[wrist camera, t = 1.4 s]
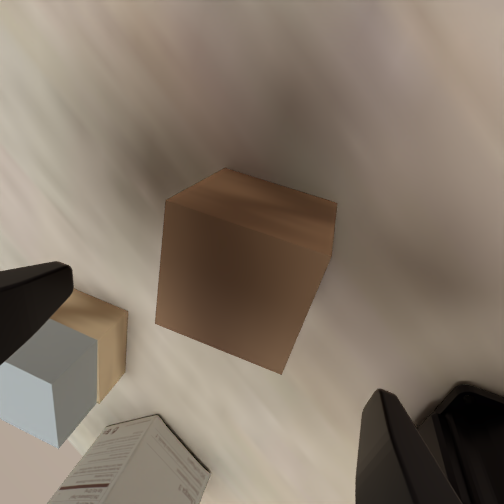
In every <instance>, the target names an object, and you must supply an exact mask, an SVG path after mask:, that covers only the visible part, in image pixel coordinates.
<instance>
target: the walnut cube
mask: <svg viewBox="0 0 504 504" xmlns="http://www.w3.org/2000/svg"><path fill="white" fill-rule="evenodd" d="M336 212H337V203H335V202H332V201H329V200H326V199H323V198H319V197H316V196H313V195H310V194H307V193H303V192H300V191H297V190H294V189H291V188H287V187H284V186H281V185H278V184H275V183H272V182H268V181H265V180H262V179H259V178H256V177H252V176H249V175H246V174H243V173H240V172H236V171H233V170H230V169H227V168H224V169H222V170H220V171H219V172H217V173H215V174H213V175H211V176H209V177H207V178H206V179H204V180H202V181H200V182H198V183H196V184H195V185H193V186H191V187H189V188H187V189H185V190H184V191H182V192H180V193H178V194H176V195H174V196H173V197H171V198H169V199H167V200H166V202H165V214H164V225H163V237H162V248H161V260H160V271H159V283H158V295H157V306H156V318H155V324H157V325H160V326H162V327H165V328H167V329H170V330H172V331H174V332H177V333H179V334H182V335H184V336H187V337H189V338H192V339H194V340H197V341H199V342H202V343H204V344H207V345H209V346H212V347H214V348H217V349H219V350H222V351H224V352H226V353H229V354H231V355H234V356H236V357H239V358H241V359H244V360H246V361H249V362H251V363H254V364H256V365H259V366H261V367H264V368H266V369H269V370H271V371H274V372H276V373H278V374H281V375H282V372H283V370H284V367H285V365H286V363H287V360H288V358H289V356H290V353H291V351H292V349H293V346H294V344H295V341H296V339H297V337H298V334H299V332H300V330H301V327H302V325H303V323H304V320H305V318H306V315H307V313H308V311H309V308H310V306H311V304H312V301H313V299H314V297H315V294H316V292H317V289H318V287H319V285H320V282H321V280H322V278H323V275H324V273H325V271H326V268H327V266H328V263H329V261H330V259H331V256H332V247H333V238H334V229H335V220H336Z"/></svg>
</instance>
